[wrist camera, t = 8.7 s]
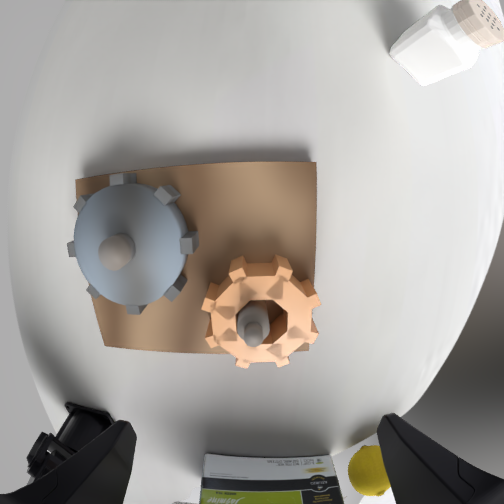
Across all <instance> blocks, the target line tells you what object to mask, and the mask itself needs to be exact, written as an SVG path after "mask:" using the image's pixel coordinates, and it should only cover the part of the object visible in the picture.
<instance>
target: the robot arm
mask: <svg viewBox="0 0 504 504" xmlns="http://www.w3.org/2000/svg"><path fill="white" fill-rule="evenodd" d="M65 407H66V409H67V411H68V412H69V416H68V417H67V419H66V420H65V422H64V424H63V425H62V427H61V428H60V430H59V432H58V433H57V435H56V437H54V435H53V434H52V433H50V434H49V435H48V434H46V433H44V432H42V433H41V434H40V436H39V437H38V439H37V440H36V442H35V443H34V445H33V447H32V449H31V450H30V452H29V454H28V456H27V461H28V470H27V473H28V474H30V475H31V478H30V480H29V482H28V483H27V485H26V486H24V487H22V488H20V489H18V490H16V491H14V492H11V493H8V494H0V504H123V501H124V497H125V494H126V490H127V486H128V483H129V479H130V475H131V471H132V465H133V459H134V452H135V446H136V440H137V437H136V433H135V431H134V429H133V427H132V425H131V423H130V422H128V421H124V420H118V421H117V422H115V423H114V422H113V421H112V419H111V417H110V415H109V414H108V413H105V412H101V411H97V410H93V409H89V408H86V407H82V406H79V405H75V404H72V403H68V402H66V403H65ZM377 435H378V440H379V444H380V449H381V454H382V459H383V463H384V467H385V470H386V473H387V476H388V479H389V482H390V485H391V488H392V492H393V495H394V498H395V501H396V504H504V479H502V478H499V477H497V476H494V475H491V474H490V473H487V472H485V471H483V470H481V469H479V468H477V467H475V466H473V465H471V464H469V463H467V462H466V461H464V460H463V459H461V458H458V457H457V456H456V455H455V454H453V453H452V452H450V451H449V450H447V449H446V448H444V447H442V446H441V445H440V444H438V443H437V442H435V441H434V440H432V439H431V438H429V437H428V436H426V435H425V434H423V433H422V432H420V431H419V430H418V429H416V428H415V427H413V426H412V425H411V424H409V423H408V422H406V421H405V420H403V419H402V418H401V417H399V416H398V415H396V414H395V413H390V414H386V415H384V416H383V417H382V419H381V421H380V424H379V426H378V428H377ZM47 450H49V451H50V452H51V454H50V453H49V452H47Z"/></svg>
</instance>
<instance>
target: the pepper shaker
mask: <svg viewBox="0 0 504 504" xmlns="http://www.w3.org/2000/svg"><path fill="white" fill-rule="evenodd" d="M503 41H504V28H503V26H502V24H501V22H500V20H499V19H498V17H497V16H496V15H495V13H494V12H493V11H492V9H491V8H490V7H489V6H488V5H487V4H486V3H485V2H483V1H482V0H461V1H459V2H458V3H456V4H455V5H453V6H452V8H451V9H448V8H446V7H444V6H442V5H438V6H436V7H435V8H434V9H432V10H431V11H430V12H429V13H427V14H426V15H425V16H423V17H422V18H421V19H420V20H418V21H417V22H416V23H415V24H413V25H412V26H411V27H410V28H408V29H407V30H406V31H405V32H404V33H403V34H402V35H401V36H400V37H399V39H398V40H397V41H396V42H395V43H394V45H393V46H392V47H391V49H390V55H391V57H392V58H393V59H394V60H395V61H396V62H397V63H398V64H399V65H400V66H402V67H403V68H404V69H405V70H406V71H407V72H408V73H409V74H410V75H411V76H412V77H413V78H414V79H415V80H416V81H417V82H418V83H419V84H420V85H422V86H427V85H429V84H431V83H434V82H436V81H439V80H441V79H443V78H446V77H448V76H451V75H453V74H456V73H458V72H461V71H464V70H466V69H469V68H471V67H472V66H473V64H474V63H475V61H476V60H477V58H478V56H479V53H480V49H487V48H488V47H490V46H493V45H496V44H498V43H501V42H503Z"/></svg>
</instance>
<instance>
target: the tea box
mask: <svg viewBox="0 0 504 504" xmlns="http://www.w3.org/2000/svg"><path fill="white" fill-rule="evenodd" d="M199 504H344V501H343V497H342V494H341V490H340V486H339V482H338V478H337V475H336V471H335V468H334V464H333V461H332V458H331V456H330V455H326V456H314V457H297V458H250V457H234V456H223V455H214V454H205V456H204V464H203V473H202V480H201V491H200V501H199Z"/></svg>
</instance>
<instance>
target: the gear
mask: <svg viewBox="0 0 504 504" xmlns="http://www.w3.org/2000/svg"><path fill="white" fill-rule="evenodd" d="M292 272H293V270H292V268H291V266H290V264H289V262H288V259H287V258H284V257H282V256H279V255H276V254H275V256H274V258H273V261H272V263H246V260H245V258H244V256H240V257H238V258H236V259H233V260H231V264H230V269H229V276H228V277H227V278H226V279H225V280H224V281H223V282H222V283H221V284H220V285H217V284H215V283H212V282H211V283H210V285H209V288H208V291H207V294H206V297H205V300H204V303H203V305H202V308H201V310H204V311H207V312H210V313H211V319H210V321H209V324H208V328H207V332H206V336H205V339H206V341H207V343H208V344H209V346H210V347H211V348H213V347H216V346H219V345H220V346H221V347H222V348H224V349H225V350H226V351H228V352H229V353H231V354H232V355H233V356H235V357H236V363H235V366H239V367H242V368H246V369H247V368H248V366H249V364H250V363H252V362H275V363H276V365H277V366H278V368H279V367H281V366H284V365H287V364H289V363H290V362H289V357H288V356H289V355H290V354H291V353H292V352H293V351H295V350H296V349H297V348H298V347H299V346H301V345H302V344H303V343H304V342H307V343H311V344H313V343H314V341H315V340H316V338H317V336H318V334H319V333H318V331H317V328H316V326H315V324H314V321H313V319H312V309H313V308H315V307H317V306H320V305H321V303H320V300H319V298H318V295H317V293H316V291H315V289H314V288H313V286H312V284H311V282H310V281H309V279H306V280H304V281H302V282H299V281H298V280H297V279H296V278H295V277H294V276H293V275H292ZM250 300H274V301H275V302H276V303H277V304H279V305H280V306H281V307H282V308H283V313H282V314H281V315H280V316H279V317H278V318H277V319H275V320H274V321H273V322H272V323H271V324H269V326H270V331H269V334H268V336H267V337H266V338H265V339H264V340H263V342H262V344H261V345H259V346H257V347H250V346H248V345H247V344H246V343H245V342H244V340H243V339H241V338H240V336H239V335H238V332H237V323H238V312H239V311H240V310H241V309H242V308H243V307H244V306H245V305H246V304H247V303H248V302H249V301H250Z"/></svg>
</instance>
